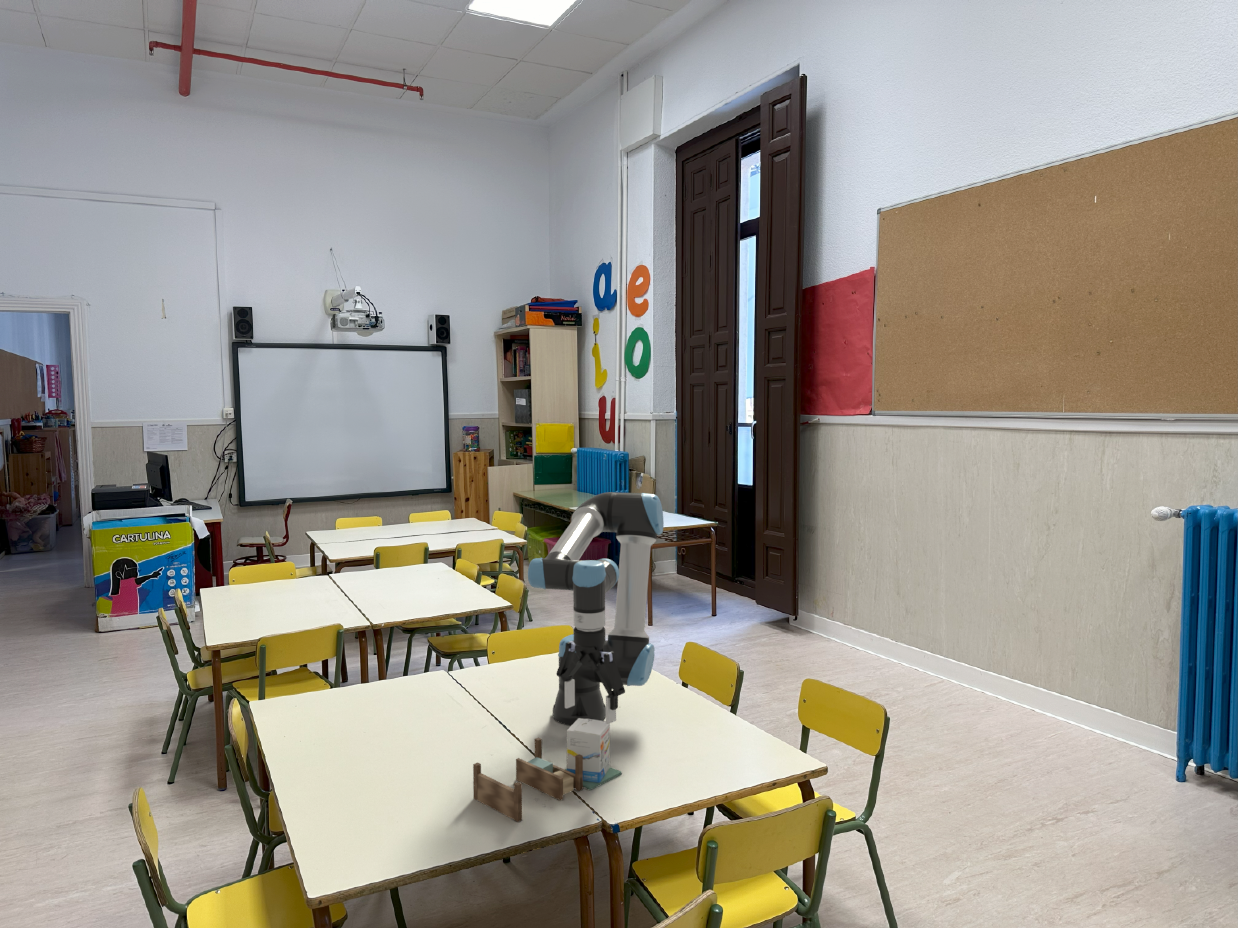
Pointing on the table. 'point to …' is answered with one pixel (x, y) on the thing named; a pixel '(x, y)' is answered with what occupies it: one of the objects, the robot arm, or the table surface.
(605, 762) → the ink box
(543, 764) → the offcut
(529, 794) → the table surface
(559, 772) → the offcut
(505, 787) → the rack
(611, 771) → the mat
